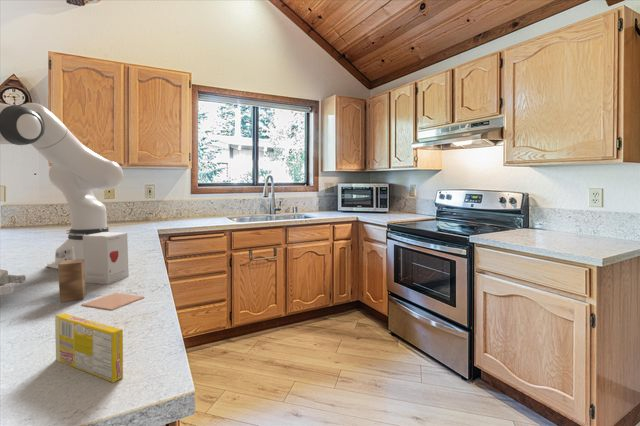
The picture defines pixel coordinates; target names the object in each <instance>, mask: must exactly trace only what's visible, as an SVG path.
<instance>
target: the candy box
mask: <svg viewBox="0 0 640 426" xmlns="http://www.w3.org/2000/svg"><path fill="white" fill-rule="evenodd" d="M54 325H55V328H54V329H55V331H54V333H55V335H54V336H55V338H54V339H55V361H58V362H60V363H62V364H65V365H67V366H70V367H73V368H75V369H78V370H80V371H83V372H85V373H88V374H90V375H93V376H95V377H98V378H101V379H103V380H105V381H108V382H111V383H112V384H114V383H116V382H118V381H120V380H121V379H123V378H124V340H123V339H124V337H123V336H124V334H123V333H124V332H123V331H124V330H123V329H121V328H118V327H115V326H111V325H107V324H103V323H100V322H98V321H97V322H96V321H93V320H89V319H86V318H84V317H79V316H75V315H72V314H69V313H64V312H63V313H61V314H57V315H55V316H54Z"/></svg>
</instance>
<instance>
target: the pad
mask: <svg viewBox="0 0 640 426" xmlns="http://www.w3.org/2000/svg"><path fill="white" fill-rule="evenodd" d="M144 298H145V296H141V295H134V294H127V293H122V292H114V293H111V294H108V295H105V296H102V297H99V298H96V299H93V300H91V301H88V302H85V303H82V304H81V306H84V307H89V308H95V309H101V310H108V311H114V310H117V309H119V308H121V307H125V306H127V305H130V304H133V303H135V302H137V301H140V300H143V299H144Z"/></svg>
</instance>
